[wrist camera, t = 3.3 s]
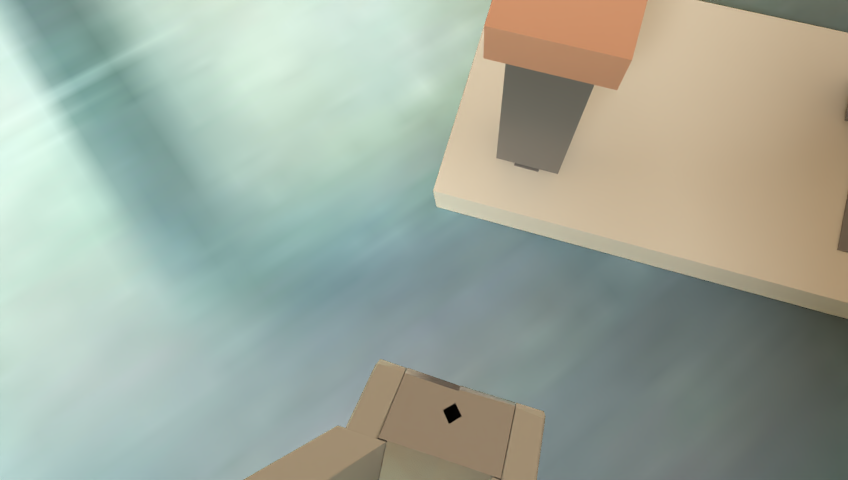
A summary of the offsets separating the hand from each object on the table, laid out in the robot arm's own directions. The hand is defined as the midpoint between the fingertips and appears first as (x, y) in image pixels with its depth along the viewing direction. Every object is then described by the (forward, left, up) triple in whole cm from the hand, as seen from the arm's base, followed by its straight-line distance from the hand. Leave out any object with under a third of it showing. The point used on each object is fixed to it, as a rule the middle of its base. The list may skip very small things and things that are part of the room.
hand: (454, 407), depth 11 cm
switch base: (+1, -17, -21) cm, 27 cm away
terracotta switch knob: (+6, -10, -18) cm, 21 cm away
